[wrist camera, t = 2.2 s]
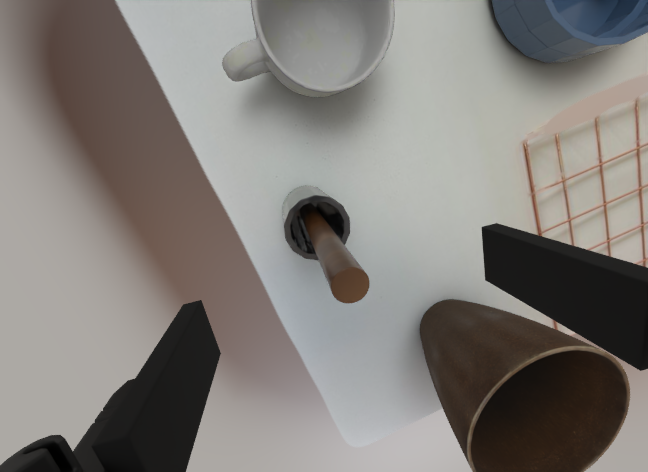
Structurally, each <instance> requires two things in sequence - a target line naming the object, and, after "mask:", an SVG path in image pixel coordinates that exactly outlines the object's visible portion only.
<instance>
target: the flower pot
mask: <svg viewBox="0 0 648 472" xmlns="http://www.w3.org/2000/svg"><path fill="white" fill-rule="evenodd" d="M420 335H421V341H422V346H423V350H424V354H425V358H426V362H427V365H428V368H429V372H430V375H431V378H432V381H433V384H434V387H435V389H436V392H437V395H438V397H439V400H440V402H441V405H442V407H443V409H444V412H445V414H446V417H447V419H448V421H449V423H450V425H451V428H452V430H453V432H454V434H455V436H456V438H457V440H458V442H459V444H460V446H461V448H462V451H463V453H464V455H465V457H466V459H467V461H468V463H469V465H470V467H471V469H472V471H473V472H584V471H585V470H586V469H588V468H589V467H590V466H592V465H593V464H594V463H595V462H596V461H597V460H598V459H599V458H600V457H601V456H602V455H603V454H604V452H605V451H606V450H607V449H608V448H609V446H610V445H611V444H612V442H613V441H614V440H615V438H616V436H617V434H618V433H619V431H620V429H621V427H622V425H623V423H624V420H625V418H626V415H627V412H628V407H629V401H630V387H629V382H628V378H627V375H626V373H625V371H624V369H623V367H622V366H621V364H620V363H619V362H618V361H617V360H616V359H615V358H614V357H613V356H611V355H610V354H608V353H606V352H604V351H602V350H600V349H598V348H596V347H594V346H591V345H589V344H587V343H585V342H583V341H581V340H578V339H576V338H574V337H572V336H569V335H567V334H565V333H562V332H560V331H558V330H555V329H553V328H550V327H548V326H545V325H543V324H540V323H538V322H535V321H533V320H530V319H527V318H524V317H521V316H518V315H515V314H512V313H509V312H506V311H503V310H499V309H496V308H492V307H489V306H485V305H480V304H476V303H471V302H466V301H460V300H444V301H441V302H438V303H436V304H435V305H433V306H432V307H431V308H430V309H429V310H428V311H427V312H426V313H425V315H424V317H423V319H422V321H421V324H420Z"/></svg>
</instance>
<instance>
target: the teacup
mask: <svg viewBox="0 0 648 472" xmlns="http://www.w3.org/2000/svg"><path fill="white" fill-rule="evenodd" d="M251 8H252V15H253V20H254V24H255V30H256V36H257V38H256V39H253V40H250V41H247V42H244V43H241V44H239V45H238V46H236V47H234V48H233V49H231V50H230V51H229V52H228V53H227V54H226V55H225V56H224V58H223V62H222V65H223V69H224V71H225V72H226V74H227V76H228V77H229V78H230V79H231V80H233V81H243V80H246V79H250V78H252V77H255V76H257V75H260V74H262V73H267V72H270V71H271V72H272V73H273V74H274V76H275V77H276V78H277V79H278V80H279V81H280V82H281V83H282V84H284V85H285V86H286V87H287V88H289V89H290V90H292V91H294V92H296V93H299V94H301V95H305V96H309V97H326V96H331V95H334V94H337V93H339V92H342V91H344V90H346V89H349V88H351V87H353V86H356V85H357V84H359V83H361V82H362V81H363V80H365V79H366V78H367V77H368V76H369V75H370V74H371V73H372V72H373V71H374V70H375V69H376V68H377V66H378V65H379V63H380V62H381V61H382V59H383V57H384V55H385V53H386V51H387V49H388V46H389V44H390V40H391V37H392V33H393V27H394V16H395V12H394V0H251Z"/></svg>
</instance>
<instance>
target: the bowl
mask: <svg viewBox="0 0 648 472" xmlns="http://www.w3.org/2000/svg"><path fill="white" fill-rule="evenodd" d="M491 1H492V5H493V10H494V14H495V18H496V20H497V22H498V24H499V25H500V27H501V29H502V31H503V33H504V34H505V36H506V38H507V40H509V42H510V43H512V44H513V45H514V46H515V47H516V48H517V49H518V50H520V51H521V52H522V53H523V54H524V55H525V56H527V57H530V58H533V59H536V60H539V61H542V62H546V63H556V62H567V61H572V60H575V59H578V58H581V57H584V56H587V55H590V54H594V53H597V52H600V51H603V50H606V49H609V48H612V47H615V46H618V45H621V44H624V43H626V42H628V41H630V40H632V39H634V38H636V37H639V36H641V35H643V34H645V33H647V32H648V0H491Z"/></svg>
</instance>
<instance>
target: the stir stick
mask: <svg viewBox="0 0 648 472" xmlns="http://www.w3.org/2000/svg"><path fill="white" fill-rule="evenodd" d="M300 215H301V218H302V220H303V223H304V225H305V227H306V230H307V232H308V235H309V237H310V240H311V242H312V245H313V247H314V250H315V252H316V255H317V257H318V259H319V262H320V264H321V267H322V269H323V272H324V274H325V277H326V279H327V282H328V284H329V286H330V289H331V291H332V294H333V295H334V297H335V298H336V299H337V300H339V301H340V302H343V303H354V302H357V301H359V300H361V299H362V298H363V297H364V296H365V295H366V293H367V291H368V289H369V278H368V276H367V274H366V273H365V271H364V270H363V269H362V268H361V266H360V265H359V264H358V262H357V261H356V260H355V258H354V257H353V256H352V255H351V253H350V252H349V251H348V249H347V248H346V247H345V245H344V244H343V243H342V241H341V240H340V239H339V238H338V236H337V235H336V234H335V232H334V231H333V230H332V228H331V227H330V226H329V225H328V223H327V222H326V221H325V219H324V218H323V217H322V215H321V214H320V213H319V212H318V210H317V209H316V208H315V206H314V205H313V204H311V203H309V204H305V205H303V206H302V207H301V208H300Z"/></svg>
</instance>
